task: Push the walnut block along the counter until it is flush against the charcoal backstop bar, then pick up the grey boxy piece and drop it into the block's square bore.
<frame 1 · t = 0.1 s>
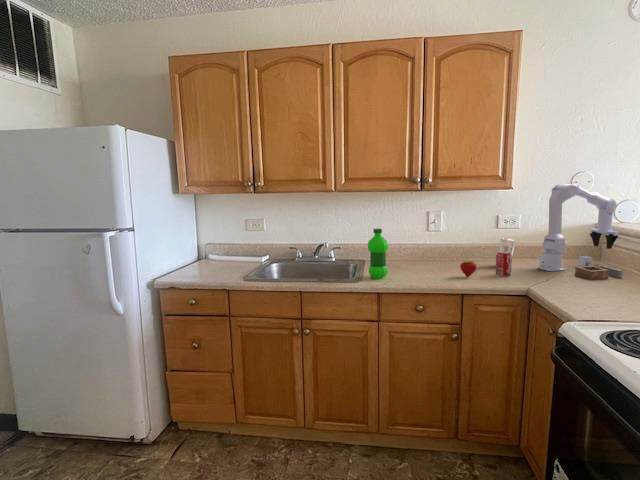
hand: (602, 247, 187), 10 cm above the worktop, fingers open, 7 cm apart
soda can: (503, 275, 177), on the worktop
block: (591, 276, 169), on the worktop
backstop: (610, 275, 170), on the worktop
strawberry: (467, 277, 176), on the worktop
grey boxy piece: (584, 270, 181), on the worktop
plastic bottle: (378, 277, 181), on the worktop
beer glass: (505, 266, 195), on the worktop
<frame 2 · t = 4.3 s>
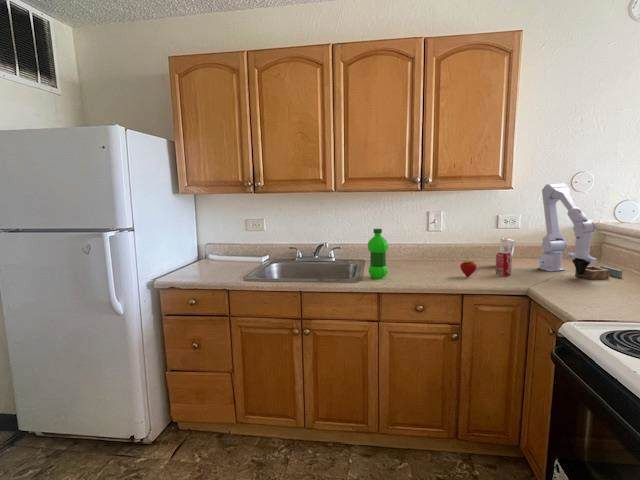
hand: (580, 274, 168), 1 cm above the worktop, fingers closed, pressing on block
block: (591, 276, 169), on the worktop, touching gripper
everything else where it was.
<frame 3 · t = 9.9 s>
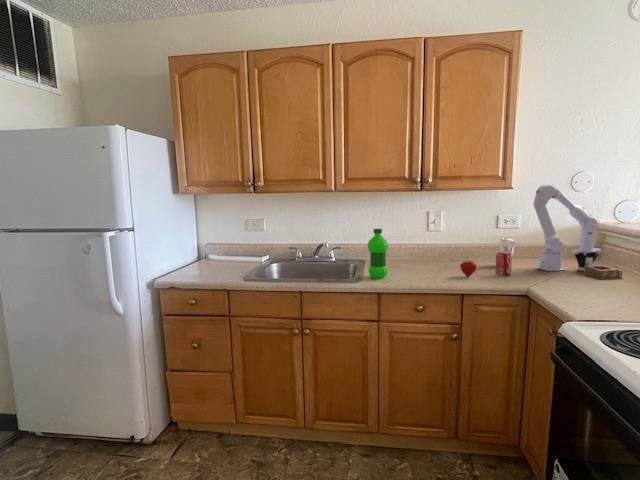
hand: (585, 267, 181), 2 cm above the worktop, fingers closed on grey boxy piece, 4 cm apart
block: (600, 276, 170), on the worktop, touching backstop
grey boxy piece: (584, 270, 181), on the worktop, touching gripper
everything else where it was.
when the fingers open (5 cm above the worktop, at t = 13.1 s): grey boxy piece drops 3 cm, resting in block.
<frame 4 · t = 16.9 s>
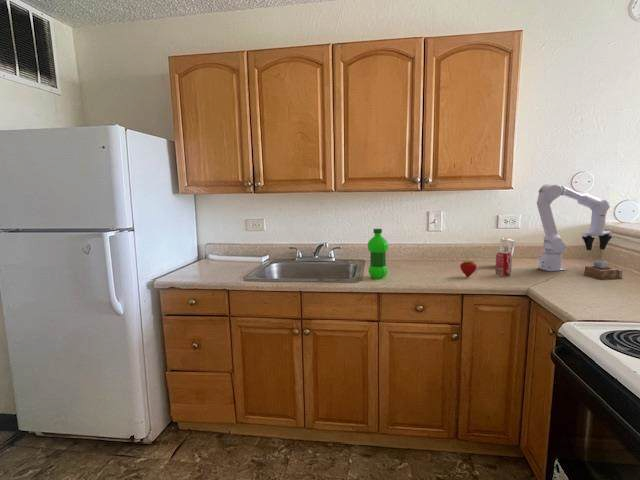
hand: (595, 249, 182), 10 cm above the worktop, fingers open, 7 cm apart
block: (600, 276, 170), on the worktop
grey boxy piece: (600, 276, 170), resting in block
everything else where it was.
at the end: grey boxy piece 0.3 cm off-centre on the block, point 0.0 cm above the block's base; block 0.1 cm from the target spot, on the worktop; grey boxy piece tilted 0° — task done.
